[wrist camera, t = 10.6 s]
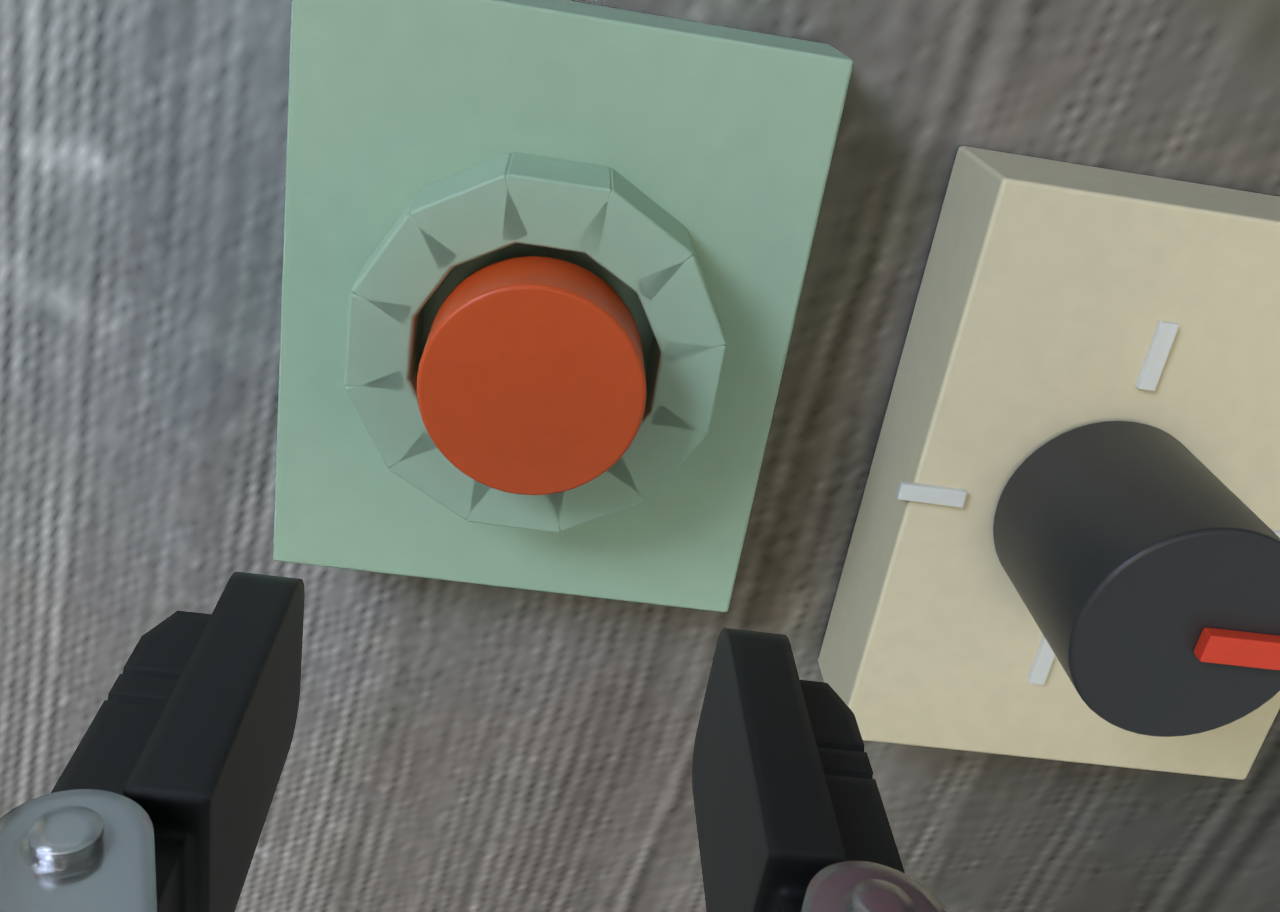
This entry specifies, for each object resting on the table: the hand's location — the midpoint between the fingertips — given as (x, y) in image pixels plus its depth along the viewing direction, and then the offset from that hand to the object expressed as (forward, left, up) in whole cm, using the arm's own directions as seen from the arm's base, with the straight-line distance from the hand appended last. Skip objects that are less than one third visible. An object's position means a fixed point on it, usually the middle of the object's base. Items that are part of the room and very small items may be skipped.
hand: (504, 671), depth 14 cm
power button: (0, 0, -10) cm, 10 cm away
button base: (0, 0, -13) cm, 13 cm away
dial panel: (+2, +13, -13) cm, 19 cm away
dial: (+2, +12, -10) cm, 16 cm away
